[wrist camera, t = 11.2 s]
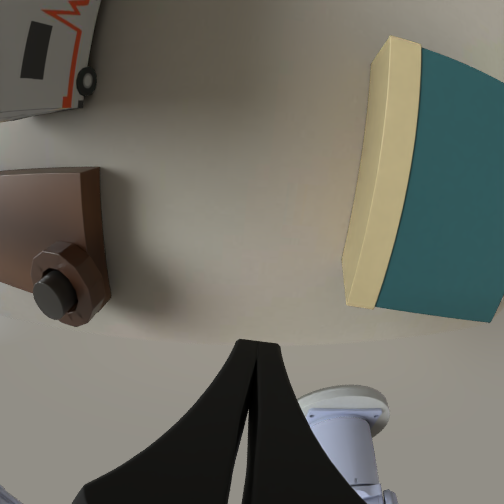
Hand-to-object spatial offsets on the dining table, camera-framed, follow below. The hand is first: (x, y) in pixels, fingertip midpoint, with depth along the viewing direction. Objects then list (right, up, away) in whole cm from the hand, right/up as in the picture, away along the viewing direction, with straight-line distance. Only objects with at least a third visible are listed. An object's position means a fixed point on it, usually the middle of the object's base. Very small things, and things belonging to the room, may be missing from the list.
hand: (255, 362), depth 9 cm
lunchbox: (+14, +6, +2) cm, 15 cm away
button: (-13, +1, +7) cm, 15 cm away
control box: (-17, +6, +10) cm, 21 cm away
